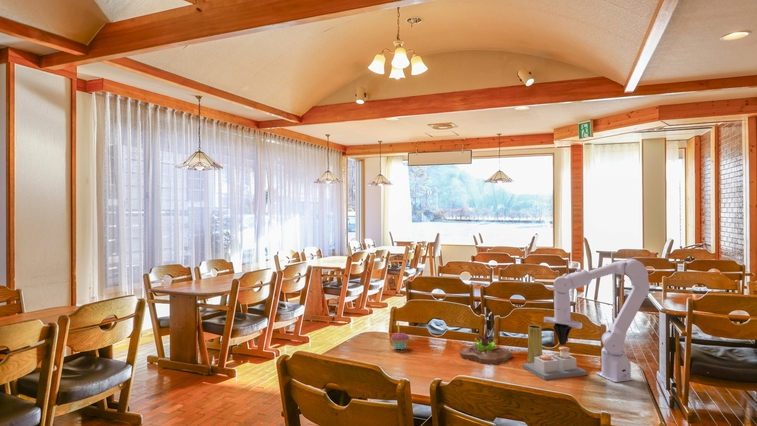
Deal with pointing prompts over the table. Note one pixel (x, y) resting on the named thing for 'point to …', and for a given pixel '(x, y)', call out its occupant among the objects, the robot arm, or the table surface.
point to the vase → (534, 342)
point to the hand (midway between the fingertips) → (562, 344)
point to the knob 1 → (545, 357)
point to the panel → (554, 368)
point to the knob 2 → (564, 352)
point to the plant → (486, 351)
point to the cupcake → (399, 339)
